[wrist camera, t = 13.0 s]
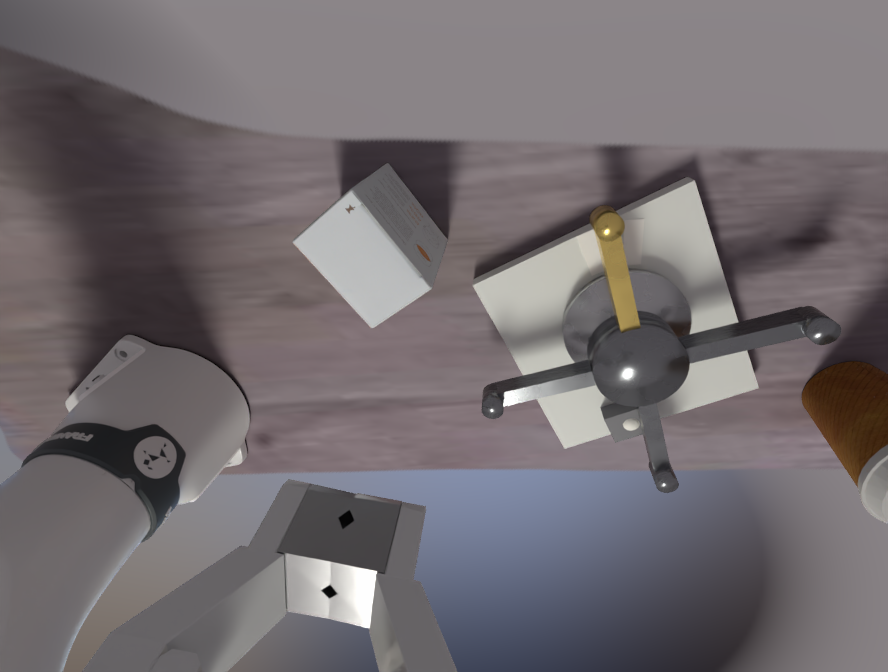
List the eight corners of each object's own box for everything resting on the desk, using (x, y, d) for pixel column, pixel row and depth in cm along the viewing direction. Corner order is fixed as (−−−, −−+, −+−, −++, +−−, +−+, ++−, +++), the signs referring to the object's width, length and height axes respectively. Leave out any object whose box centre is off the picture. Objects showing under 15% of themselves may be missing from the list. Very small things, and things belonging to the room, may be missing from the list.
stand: (562, 438, 47) (567, 463, 44) (473, 278, 39) (471, 295, 36) (750, 378, 41) (770, 402, 38) (687, 176, 33) (706, 185, 30)
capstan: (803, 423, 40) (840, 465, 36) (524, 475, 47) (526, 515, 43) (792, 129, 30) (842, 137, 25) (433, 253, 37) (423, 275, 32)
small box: (340, 202, 38) (287, 240, 28) (389, 160, 35) (349, 186, 26) (401, 276, 40) (370, 332, 31) (450, 240, 38) (433, 289, 29)
